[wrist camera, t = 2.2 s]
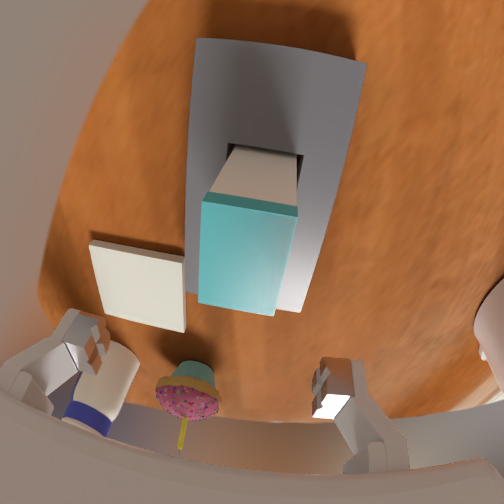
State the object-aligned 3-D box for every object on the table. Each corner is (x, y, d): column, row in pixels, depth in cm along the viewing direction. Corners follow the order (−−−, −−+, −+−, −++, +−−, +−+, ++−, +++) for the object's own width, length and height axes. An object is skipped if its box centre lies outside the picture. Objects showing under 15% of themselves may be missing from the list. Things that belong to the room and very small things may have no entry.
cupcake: (231, 388, 43) (216, 465, 33) (175, 383, 44) (154, 454, 34) (219, 352, 38) (199, 442, 28) (156, 348, 39) (126, 428, 29)
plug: (297, 143, 22) (297, 217, 13) (283, 215, 26) (273, 316, 17) (241, 134, 22) (201, 201, 14) (232, 206, 26) (198, 302, 17)
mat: (185, 256, 30) (182, 263, 29) (186, 326, 35) (183, 332, 35) (93, 239, 30) (88, 244, 29) (108, 307, 36) (104, 313, 35)
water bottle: (132, 379, 46) (82, 518, 25) (86, 351, 43) (23, 489, 23) (152, 362, 41) (96, 527, 21) (99, 330, 39) (24, 493, 19)
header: (356, 61, 18) (367, 63, 15) (300, 285, 30) (300, 312, 27) (210, 39, 18) (196, 37, 16) (195, 267, 30) (185, 292, 27)
